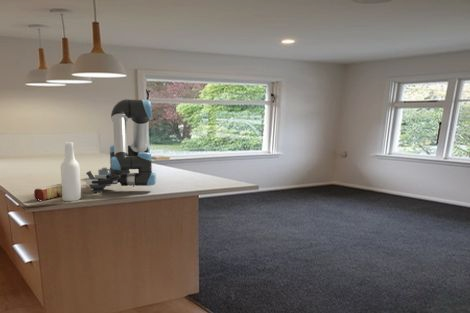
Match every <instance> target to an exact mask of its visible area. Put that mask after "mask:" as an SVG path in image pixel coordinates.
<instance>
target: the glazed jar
mask: <svg viewBox="0 0 470 313" xmlns="http://www.w3.org/2000/svg"><path fill="white" fill-rule="evenodd" d="M109 174H111V172H110V168H108V167H102V168H100V169H98V175H106V176H107V175H109ZM106 179H107V178H106ZM106 186H107V187H111V186H112V184H107V185H106Z"/></svg>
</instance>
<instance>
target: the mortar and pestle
mask: <svg viewBox="0 0 470 313" xmlns="http://www.w3.org/2000/svg"><path fill="white" fill-rule="evenodd" d="M85 175H87V176H88V179H95V175H93V173H92V171H91V170H89V171H87V172H86V174H85ZM96 179H99V180H102V179H105V178H96ZM100 183H101V182H100ZM89 186H90V189H92V192H93V193H94V192H99V193H103V191H104V192H105V188H106V185H98V184H89Z"/></svg>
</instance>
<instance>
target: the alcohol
mask: <svg viewBox="0 0 470 313" xmlns="http://www.w3.org/2000/svg"><path fill="white" fill-rule="evenodd" d="M64 146H65V147H64V160H63V161H62V163H61V164H60V176H61V177H60V178H61V184H62V196H61V197H62V198H61V199H62V200H63V201H64V202H68V201H70V202H76V201H80V200H81V198H82V186H81V169H80V168H81V167H80V163H79V162H78V161H77V159H76V158H75V156H76V155H75V149H74V141H73V142H72V141H68V142H67V141H66V142H64ZM79 199H80V200H79Z"/></svg>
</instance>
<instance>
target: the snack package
mask: <svg viewBox="0 0 470 313" xmlns="http://www.w3.org/2000/svg"><path fill="white" fill-rule="evenodd" d="M33 192H34V193H33V194H34V198H35V200H36V199H39V200H44V201H47V200H46V199H48V200H51V199H54V197H55V198H59V197H62V183H59V184H58V183H57V184H53V185H48V186H43V187H37V188H35V189H34V191H33ZM58 196H59V197H58ZM50 198H51V199H50Z"/></svg>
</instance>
